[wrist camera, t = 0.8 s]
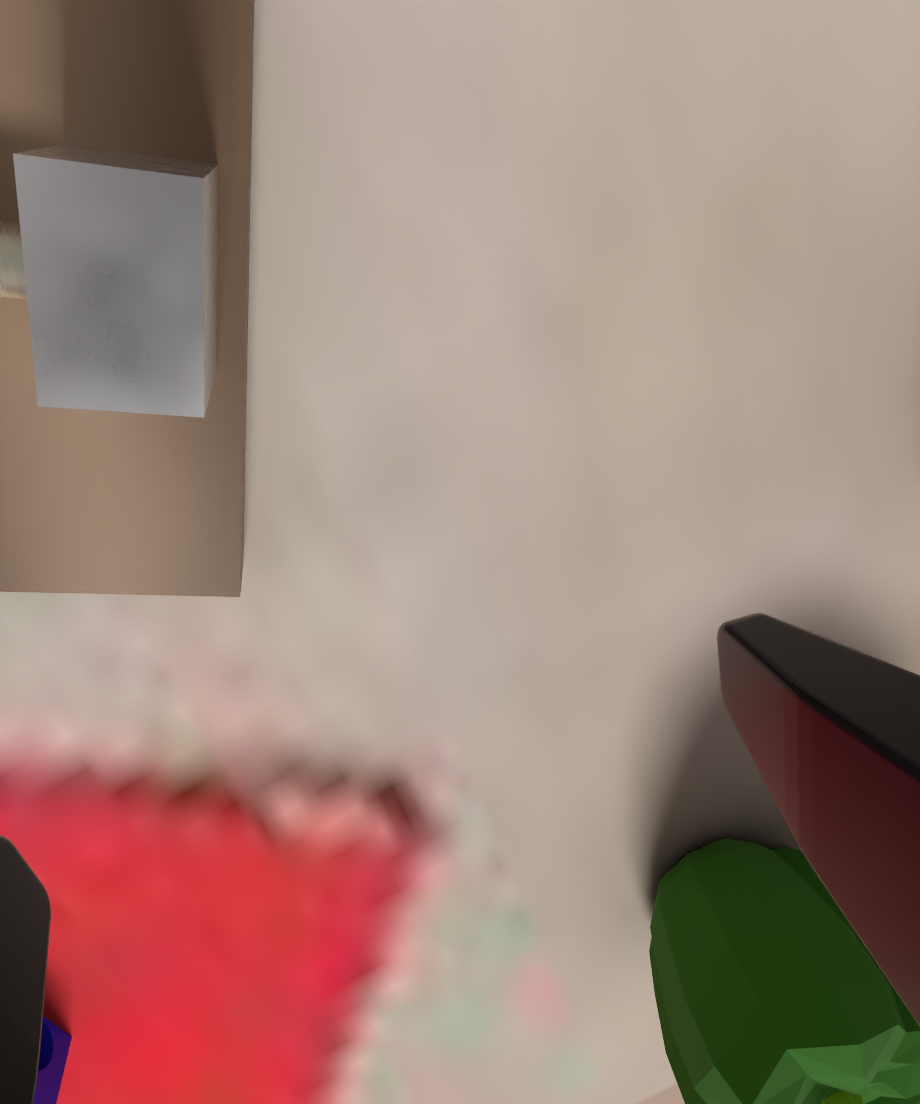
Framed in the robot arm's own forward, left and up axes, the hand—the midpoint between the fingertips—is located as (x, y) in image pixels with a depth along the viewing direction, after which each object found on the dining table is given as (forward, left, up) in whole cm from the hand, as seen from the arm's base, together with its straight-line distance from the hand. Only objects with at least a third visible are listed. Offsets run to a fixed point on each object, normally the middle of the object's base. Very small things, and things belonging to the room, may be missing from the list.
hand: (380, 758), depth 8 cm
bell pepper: (-8, +21, -12) cm, 25 cm away
